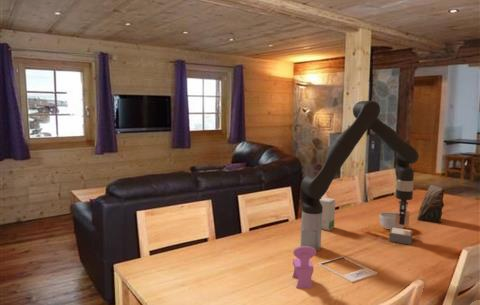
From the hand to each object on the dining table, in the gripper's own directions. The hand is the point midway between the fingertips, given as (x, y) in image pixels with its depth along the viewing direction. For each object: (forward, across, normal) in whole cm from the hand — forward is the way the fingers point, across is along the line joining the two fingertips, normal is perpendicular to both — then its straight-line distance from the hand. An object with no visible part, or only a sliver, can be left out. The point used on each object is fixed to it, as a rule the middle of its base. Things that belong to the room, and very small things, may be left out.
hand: (402, 222), depth 180 cm
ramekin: (+9, +17, +5) cm, 20 cm away
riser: (+9, 0, 0) cm, 9 cm away
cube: (+1, 0, 0) cm, 1 cm away
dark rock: (+9, +43, -13) cm, 46 cm away
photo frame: (+9, -46, +18) cm, 50 cm away
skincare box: (+9, 0, +37) cm, 38 cm away
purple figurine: (+9, -65, +31) cm, 73 cm away
